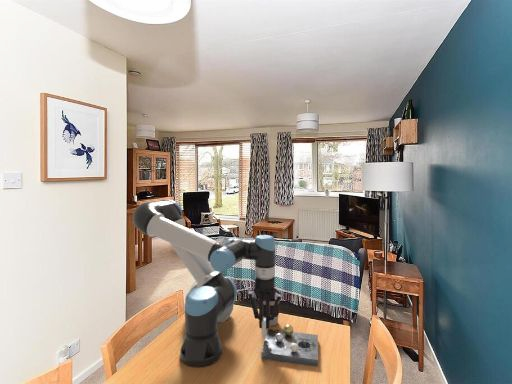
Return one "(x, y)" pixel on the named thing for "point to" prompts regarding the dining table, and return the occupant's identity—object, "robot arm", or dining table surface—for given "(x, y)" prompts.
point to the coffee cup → (272, 301)
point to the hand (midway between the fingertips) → (264, 336)
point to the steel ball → (279, 337)
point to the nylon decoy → (294, 347)
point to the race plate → (282, 349)
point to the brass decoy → (288, 330)
